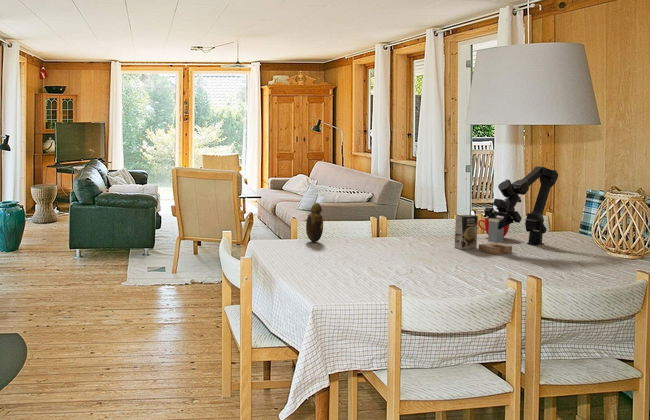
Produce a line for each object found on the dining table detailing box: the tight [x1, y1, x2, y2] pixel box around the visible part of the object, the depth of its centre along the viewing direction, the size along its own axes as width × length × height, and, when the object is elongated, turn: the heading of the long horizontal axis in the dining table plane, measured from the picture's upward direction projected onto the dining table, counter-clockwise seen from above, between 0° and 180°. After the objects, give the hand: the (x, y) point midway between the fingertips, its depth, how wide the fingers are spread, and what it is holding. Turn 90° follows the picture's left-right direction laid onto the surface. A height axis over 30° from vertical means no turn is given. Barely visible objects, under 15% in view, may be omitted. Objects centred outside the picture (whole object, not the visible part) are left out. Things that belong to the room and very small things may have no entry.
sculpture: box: [305, 202, 324, 243], centre depth 380 cm, size 13×8×20 cm, turn 5°
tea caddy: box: [487, 217, 504, 243], centre depth 358 cm, size 5×5×11 cm
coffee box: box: [454, 214, 479, 250], centre depth 367 cm, size 9×6×16 cm
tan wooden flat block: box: [478, 242, 513, 255], centre depth 359 cm, size 11×11×3 cm
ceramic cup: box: [477, 217, 510, 238], centre depth 397 cm, size 13×17×10 cm
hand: (494, 228), depth 357 cm, fingers closed on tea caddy, 5 cm apart
